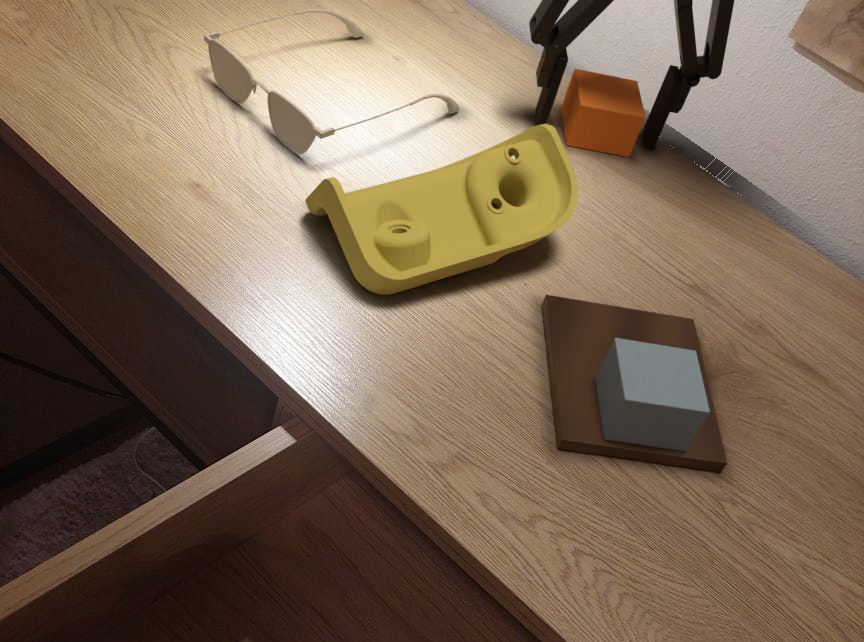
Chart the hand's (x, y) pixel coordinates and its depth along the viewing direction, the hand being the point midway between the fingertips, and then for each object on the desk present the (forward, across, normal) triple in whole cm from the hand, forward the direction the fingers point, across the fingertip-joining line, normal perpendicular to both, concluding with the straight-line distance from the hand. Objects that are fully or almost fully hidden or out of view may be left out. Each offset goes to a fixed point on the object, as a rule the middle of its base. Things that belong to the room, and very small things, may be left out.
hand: (594, 129), depth 98 cm
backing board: (0, -1, -33) cm, 33 cm away
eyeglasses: (0, -24, -2) cm, 24 cm away
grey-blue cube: (-1, -1, -37) cm, 37 cm away
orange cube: (0, 0, 0) cm, 0 cm away
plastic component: (0, -15, -20) cm, 25 cm away
